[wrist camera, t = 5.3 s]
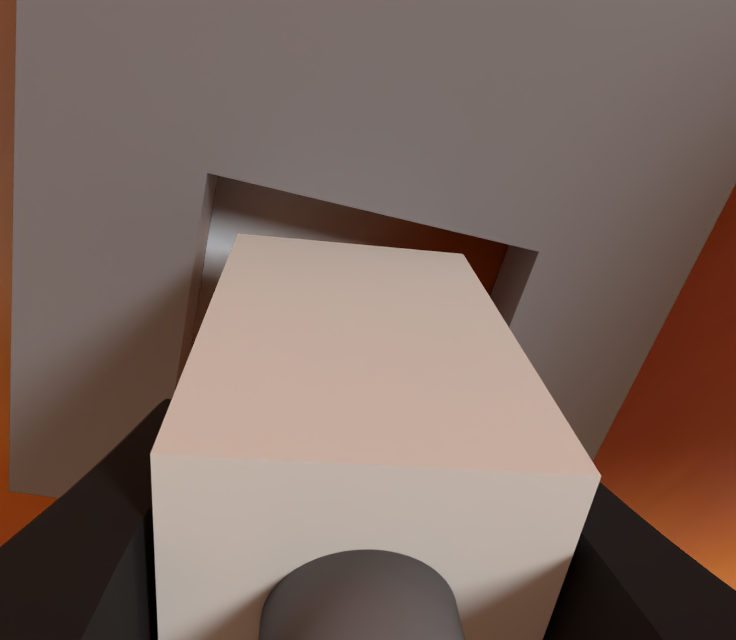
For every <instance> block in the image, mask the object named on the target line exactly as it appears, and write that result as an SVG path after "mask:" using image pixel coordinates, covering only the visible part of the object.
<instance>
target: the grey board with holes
mask: <svg viewBox="0 0 736 640" xmlns="http://www.w3.org/2000/svg"><path fill="white" fill-rule="evenodd" d="M217 175H218V176H222V177H226V178H231V179H235V180H239V181H243V182H247V183H252V184H256V185H260V186H264V187H269V188H273V189H277V190H281V191H285V192H290V193H294V194H298V195H302V196H306V197H311V198H315V199H319V200H323V201H327V202H332V203H336V204H340V205H344V206H348V207H353V208H357V209H361V210H365V211H369V212H374V213H378V214H382V215H386V216H391V217H395V218H399V219H403V220H407V221H412V222H416V223H420V224H424V225H428V226H433V227H437V228H441V229H445V230H449V231H454V232H458V233H462V234H466V235H470V236H475V237H479V238H483V239H487V240H492V241H496V242H500V243H504V244H508V245H509V246H508V249H507V251H506V254H505V257H504V259H503V262H502V265H501V267H500V270H499V273H498V275H497V278H496V281H495V284H494V286H493V289H492V292H491V294H490V298H491V300H492V301H493V303H494V304H495V306H496V308H497V309H498V311H499V312H500V314H501V316H502V317H503V319H504V321H505V322H506V324H507V325H508V327H509V329H510V330H511V332H512V333H513V335H514V337H515V338H516V340H517V341H518V343H519V345H520V346H521V348H522V349H523V351H524V353H525V354H526V356H527V357H528V359H529V361H530V362H531V364H532V365H533V367H534V369H535V370H536V372H537V373H538V375H539V377H540V378H541V380H542V382H543V383H544V385H545V386H546V388H547V390H548V391H549V393H550V394H551V396H552V398H553V399H554V401H555V402H556V404H557V406H558V407H559V409H560V410H561V412H562V414H563V415H564V417H565V418H566V420H567V422H568V423H569V425H570V426H571V428H572V430H573V431H574V433H575V435H576V436H577V438H578V439H579V441H580V443H581V444H582V446H583V447H584V449H585V451H586V452H587V454H588V455H589V457H590V459H591V460H592V462H593V460H594V458H595V456H596V454H597V452H598V450H599V448H600V446H601V445H602V443H603V441H604V439H605V437H606V435H607V433H608V431H609V429H610V427H611V425H612V423H613V421H614V419H615V417H616V415H617V413H618V412H619V410H620V408H621V406H622V404H623V402H624V400H625V398H626V396H627V394H628V392H629V390H630V388H631V386H632V384H633V382H634V380H635V378H636V377H637V375H638V373H639V371H640V369H641V367H642V365H643V363H644V361H645V359H646V357H647V355H648V353H649V351H650V349H651V347H652V345H653V344H654V342H655V340H656V338H657V336H658V334H659V332H660V330H661V328H662V326H663V324H664V322H665V320H666V318H667V316H668V314H669V312H670V310H671V309H672V307H673V305H674V303H675V301H676V299H677V297H678V295H679V293H680V291H681V289H682V287H683V285H684V283H685V281H686V279H687V277H688V276H689V274H690V272H691V270H692V268H693V266H694V264H695V262H696V260H697V258H698V256H699V254H700V252H701V250H702V248H703V246H704V244H705V242H706V241H707V239H708V237H709V235H710V233H711V231H712V229H713V227H714V225H715V223H716V221H717V219H718V217H719V215H720V213H721V211H722V209H723V208H724V206H725V204H726V202H727V200H728V198H729V196H730V194H731V192H732V190H733V188H734V186H735V184H736V0H16V59H15V121H14V183H13V246H12V308H11V371H10V433H9V491H10V492H17V493H24V494H31V495H39V496H46V497H53V498H60V497H61V496H62V495H63V494H64V493H66V492H67V491H68V490H69V489H70V488H71V487H72V486H73V485H74V484H75V483H77V482H78V481H79V480H80V479H81V478H82V477H83V476H84V475H85V474H86V473H88V472H89V471H90V470H91V469H92V468H93V467H94V466H95V465H96V464H97V463H98V462H100V461H101V460H102V459H103V458H104V457H105V456H106V455H107V454H108V453H109V452H110V451H111V450H112V449H113V448H114V447H115V446H116V445H117V444H119V443H120V442H121V441H122V440H123V439H124V438H125V437H126V436H127V435H128V434H129V433H130V432H131V431H132V430H133V429H134V428H135V427H136V426H137V425H138V424H139V423H140V422H141V421H142V420H143V419H144V418H145V417H146V416H147V415H148V414H149V413H150V412H151V411H152V410H153V409H154V408H155V407H156V406H157V405H158V404H159V403H161V402H162V401H163V400H164V399H172V398H173V395H174V393H175V390H176V388H177V385H178V382H179V380H180V377H181V375H182V372H183V370H184V367H185V365H186V362H187V360H188V357H189V355H190V349H191V342H192V336H193V329H194V323H195V316H196V310H197V304H198V297H199V291H200V284H201V278H202V272H203V265H204V259H205V252H206V246H207V240H208V233H209V227H210V220H211V214H212V207H213V201H214V195H215V188H216V182H217Z"/></svg>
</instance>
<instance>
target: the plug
mask: <svg viewBox="0 0 736 640" xmlns="http://www.w3.org/2000/svg"><path fill="white" fill-rule="evenodd" d="M150 460H151V484H152V507H153V530H154V554H155V577H156V600H157V624H158V640H543V637H544V635H545V632H546V629H547V626H548V623H549V621H550V618H551V615H552V612H553V609H554V607H555V604H556V601H557V598H558V596H559V593H560V590H561V587H562V584H563V582H564V579H565V576H566V573H567V571H568V568H569V565H570V562H571V559H572V557H573V554H574V551H575V548H576V546H577V543H578V540H579V537H580V534H581V532H582V529H583V526H584V523H585V521H586V518H587V515H588V512H589V509H590V507H591V504H592V501H593V498H594V495H595V493H596V490H597V487H598V484H599V482H600V479H601V475H600V473H599V471H598V470H597V468H596V467H595V465H594V463H593V462H592V460H591V459H590V457H589V455H588V454H587V452H586V451H585V449H584V447H583V446H582V444H581V443H580V441H579V439H578V438H577V436H576V435H575V433H574V431H573V430H572V428H571V426H570V425H569V423H568V422H567V420H566V418H565V417H564V415H563V414H562V412H561V410H560V409H559V407H558V406H557V404H556V402H555V401H554V399H553V398H552V396H551V394H550V393H549V391H548V390H547V388H546V386H545V385H544V383H543V382H542V380H541V378H540V377H539V375H538V373H537V372H536V370H535V369H534V367H533V365H532V364H531V362H530V361H529V359H528V357H527V356H526V354H525V353H524V351H523V349H522V348H521V346H520V345H519V343H518V341H517V340H516V338H515V337H514V335H513V333H512V332H511V330H510V329H509V327H508V325H507V324H506V322H505V321H504V319H503V317H502V316H501V314H500V312H499V311H498V309H497V308H496V306H495V304H494V303H493V301H492V300H491V298H490V296H489V295H488V293H487V292H486V290H485V288H484V287H483V285H482V284H481V282H480V280H479V279H478V277H477V276H476V274H475V272H474V271H473V269H472V268H471V266H470V264H469V263H468V261H467V259H466V258H465V256H464V255H463V254H458V253H448V252H437V251H426V250H415V249H404V248H393V247H382V246H371V245H360V244H349V243H338V242H327V241H316V240H305V239H295V238H284V237H273V236H262V235H251V234H240V233H238V234H237V236H236V239H235V241H234V244H233V246H232V249H231V251H230V254H229V256H228V259H227V261H226V264H225V266H224V269H223V271H222V274H221V276H220V279H219V281H218V284H217V287H216V289H215V292H214V294H213V297H212V299H211V302H210V304H209V307H208V309H207V312H206V314H205V317H204V319H203V322H202V324H201V327H200V329H199V332H198V335H197V337H196V340H195V342H194V345H193V347H192V350H191V352H190V355H189V357H188V360H187V362H186V365H185V367H184V370H183V372H182V375H181V377H180V380H179V382H178V385H177V388H176V390H175V393H174V395H173V398H172V400H171V403H170V405H169V408H168V410H167V413H166V415H165V418H164V420H163V423H162V425H161V428H160V430H159V433H158V435H157V438H156V441H155V443H154V446H153V448H152V451H151V453H150Z"/></svg>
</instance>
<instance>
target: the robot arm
mask: <svg viewBox="0 0 736 640" xmlns="http://www.w3.org/2000/svg"><path fill="white" fill-rule="evenodd" d="M171 400H172V399H164V400H163V401H162V402H161V403H159V404H158V405H157V406H156V407H155V408H154V409H153V410H152V411H151V412H150V413H149V414H148V415H147V416H146V417H145V418H144V419H143V420H142V421H141V422H140V423H139V424H138V425H137V426H136V427H135V428H134V429H133V430H132V431H131V432H130V433H129V434H128V435H127V436H126V437H125V438H124V439H123V440H122V441H121V442H120V443H119V444H117V445H116V446H115V447H114V448H113V449H112V450H111V451H110V452H109V453H108V454H107V455H106V456H105V457H104V458H103V459H102V460H101V461H100V462H98V463H97V464H96V465H95V466H94V467H93V468H92V469H91V470H90V471H89V472H88V473H86V474H85V475H84V476H83V477H82V478H81V479H80V480H79V481H78V482H77V483H75V484H74V485H73V486H72V487H71V488H70V489H69V490H68V491H67V492H66V493H64V494H63V495H62V496H61V497H60V498H59V499H58V500H56V501H55V502H54V503H53V504H52V505H51V506H49V507H48V508H47V509H46V510H45V511H43V512H42V513H41V514H40V515H38V516H37V517H36V518H35V519H34V520H32V521H31V522H30V523H29V524H28V525H26V526H25V527H24V528H23V529H22V530H20V531H19V532H18V533H17V534H15V535H14V536H13V537H12V538H11V539H9V540H8V541H7V542H6V543H5V544H3V545H2V546H1V547H0V640H158V624H157V600H156V577H155V554H154V530H153V507H152V484H151V460H150V453H151V451H152V448H153V446H154V443H155V441H156V438H157V435H158V433H159V430H160V428H161V425H162V423H163V420H164V418H165V415H166V413H167V410H168V408H169V405H170V403H171ZM543 640H736V591H735V590H734V589H733V588H731V587H730V586H728V585H727V584H726V583H724V582H723V581H722V580H720V579H719V578H718V577H716V576H715V575H714V574H712V573H711V572H710V571H708V570H707V569H706V568H705V567H703V566H702V565H701V564H699V563H698V562H697V561H696V560H694V559H693V558H692V557H690V556H689V555H688V554H686V553H685V552H684V551H683V550H681V549H680V548H679V547H677V546H676V545H675V544H674V543H672V542H671V541H670V540H668V539H667V538H666V537H665V536H664V535H662V534H661V533H660V532H659V531H657V530H656V529H655V528H654V527H652V526H651V525H650V524H649V523H648V522H646V521H645V520H644V519H643V518H642V517H640V516H639V515H638V514H637V513H636V512H634V511H633V510H632V509H631V508H630V507H628V506H627V505H626V504H625V503H624V502H623V501H621V500H620V499H619V498H618V497H617V496H615V495H614V494H613V493H612V492H611V491H610V490H609V489H607V488H606V487H605V486H604V485H603V484H602V483H600V482H599V484H598V487H597V490H596V493H595V495H594V498H593V501H592V504H591V507H590V509H589V512H588V515H587V518H586V521H585V523H584V526H583V529H582V532H581V534H580V537H579V540H578V543H577V546H576V548H575V551H574V554H573V557H572V559H571V562H570V565H569V568H568V571H567V573H566V576H565V579H564V582H563V584H562V587H561V590H560V593H559V596H558V598H557V601H556V604H555V607H554V609H553V612H552V615H551V618H550V621H549V623H548V626H547V629H546V632H545V635H544V637H543Z"/></svg>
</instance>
